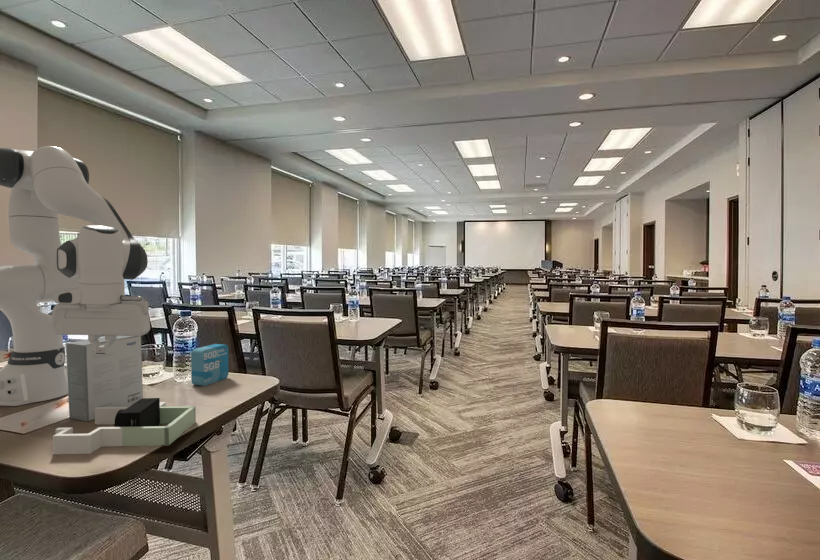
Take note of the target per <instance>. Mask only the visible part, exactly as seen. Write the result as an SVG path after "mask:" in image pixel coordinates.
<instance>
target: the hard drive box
mask: <svg viewBox="0 0 820 560" xmlns="http://www.w3.org/2000/svg"><path fill="white" fill-rule="evenodd" d="M98 340H99V342H100V343H101V345H105V344H106V342H107V340H105V335H103V336H100V338H98ZM65 358H66V377H67V381H68V394H67V395H68V416H69V419H74V420H78V421H84V422H91V421H95V408H97V407H129V406H131V405H132V404H134V403H136V402H137V401H139V400H140V399H142V398H144V387H143V385H144V383H143V353H142V336H116V340H115V341H114V343H113V345H112V346H111V353H110V354H94V347H93V346H92V345H91V343H90V342H89V340H88V338H86V339H84V340H76V341H72V342H67V343H65Z"/></svg>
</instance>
